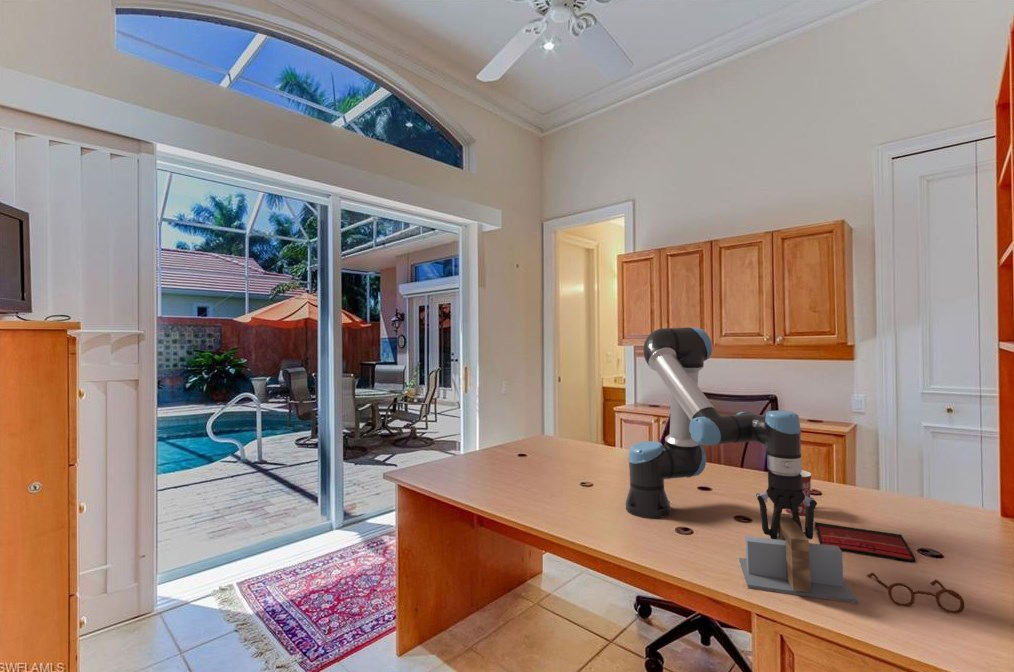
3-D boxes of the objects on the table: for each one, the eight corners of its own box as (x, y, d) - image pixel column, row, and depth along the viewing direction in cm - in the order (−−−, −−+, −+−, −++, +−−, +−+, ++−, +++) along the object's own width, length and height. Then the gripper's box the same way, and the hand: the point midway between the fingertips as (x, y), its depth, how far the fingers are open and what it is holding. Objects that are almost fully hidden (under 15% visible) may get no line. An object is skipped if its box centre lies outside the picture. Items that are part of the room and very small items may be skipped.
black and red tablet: (814, 521, 140) (901, 533, 130) (814, 528, 140) (901, 541, 130) (820, 544, 126) (918, 559, 116) (820, 552, 127) (918, 568, 116)
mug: (809, 519, 146) (807, 478, 147) (778, 512, 153) (776, 472, 153) (818, 508, 155) (816, 469, 155) (788, 502, 162) (787, 465, 162)
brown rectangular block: (793, 590, 103) (791, 538, 104) (777, 558, 118) (775, 512, 119) (810, 592, 102) (808, 540, 102) (792, 560, 117) (790, 514, 117)
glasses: (890, 606, 99) (889, 583, 99) (866, 577, 112) (865, 557, 112) (966, 617, 95) (965, 593, 95) (932, 585, 107) (931, 564, 107)
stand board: (747, 587, 107) (746, 550, 108) (739, 560, 121) (738, 527, 121) (858, 603, 100) (856, 563, 100) (836, 572, 113) (834, 537, 113)
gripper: (750, 473, 114) (754, 565, 114) (827, 478, 109) (831, 575, 108) (746, 465, 121) (749, 552, 121) (817, 470, 116) (821, 560, 115)
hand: (788, 563), depth 115 cm, fingers closed on brown rectangular block, 3 cm apart
